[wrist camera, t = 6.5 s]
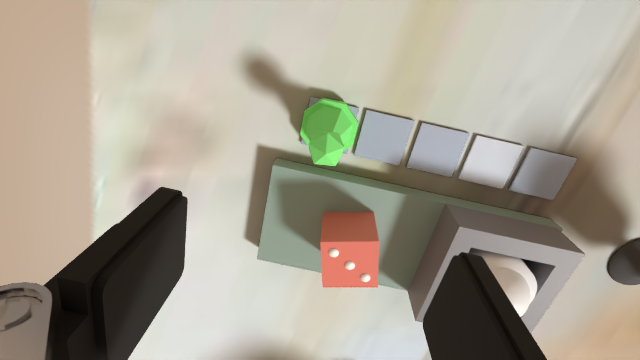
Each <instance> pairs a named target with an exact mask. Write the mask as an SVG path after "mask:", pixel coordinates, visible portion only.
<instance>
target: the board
mask: <svg viewBox="0 0 640 360" xmlns="http://www.w3.org/2000/svg"><path fill="white" fill-rule="evenodd" d="M325 212H374V216H375V222H376V227H377V232H378V238H379V263H378V285H383V286H387V287H392V288H397V289H402V290H406V291H408V294H409V298H410V302H411V306H412V310H413V313H414V317H415V321H419V322H423V318H424V315H425V313H426V311H427V309H428V307H429V305H430V303H431V301H432V299H433V297H434V294H435V292H436V290H437V288H438V286H439V284H440V282H441V280H442V278H443V276H444V274H445V272H446V270H447V267H448V265H449V263H450V261H451V259H452V258H453V256H455V255H457V256H458V255H459V254H460V253H461V252H465V253H469V251H470V249H471V248H476V249H480V250H485V251H490V252H494V253H499V254H503V255H508V256H513V257H517V258H521V260H522V261H523V262H524V263H525V265H526V266H527V267H528V268H529V270H530V271H531V272H532V273H533V275H534V277H535V279H536V281H537V292H536V295H535V297H534V299H533V301H532V302H531V303H530V305H529V307H528V309H527V311H526V312H525V313H524V315H523V316H521V319H522V321H523V322H524V324H525V325H526V327H527V329H528V330H529V332H530V333H531V332H532V331H533V329H534V328H535V327H536V325H537V324H538V322H539V321H540V319H541V318H542V316H543V315H544V314H545V312H546V311H547V309H548V308H549V306H550V305H551V303H552V302H553V301H554V299H555V298H556V296H557V295H558V293H559V292H560V290H561V289H562V287H563V286H564V285H565V283H566V282H567V280H568V279H569V277H570V276H571V274H572V273H573V272H574V270H575V269H576V267H577V266H578V264H579V263H580V261H581V260H582V259H583V257H584V256H585V253H584V252H582V251H581V250H580V249H579V248H578V247H577V246H576V245H575V244H574V243H573V242H572V241H570V240H569V239H568V238H567V237H566V236H565V235H564V234H563V233H562V232H561V231H562V230H563V229H562V228H561V227H560V226H559V225H557V224H556V223H555V222H554V221H553V220H552V219H548V218H544V217H539V216H535V215H530V214H526V213H521V212H517V211H512V210H508V209H503V208H499V207H494V206H490V205H485V204H481V203H476V202H472V201H467V200H463V199H458V198H454V197H449V196H445V195H440V194H436V193H431V192H427V191H422V190H418V189H413V188H409V187H404V186H400V185H395V184H391V183H386V182H382V181H377V180H373V179H368V178H364V177H359V176H355V175H350V174H346V173H341V172H337V171H332V170H328V169H323V168H319V167H314V166H310V165H305V164H301V163H296V162H292V161H288V160H283V159H279V158H276V160H275V162H274V164H273V167H272V173H271V178H270V184H269V190H268V196H267V202H266V208H265V214H264V220H263V226H262V232H261V238H260V244H259V250H258V256H257V259H259V260H264V261H268V262H273V263H278V264H283V265H287V266H292V267H297V268H302V269H306V270H311V271H316V272H321V273H322V265H321V247H320V239H321V228H322V218H323V213H325Z"/></svg>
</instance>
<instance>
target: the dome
mask: <svg viewBox="0 0 640 360" xmlns="http://www.w3.org/2000/svg"><path fill="white" fill-rule="evenodd" d="M469 253H470V254H474V255H479V256H482V257H483V259H484V260H485V262H486V263H487V265H488V267H489V268H490V270H491V271H492V273H493V274H494V276H495V278H496V279H497V281H498V282H499V284H500V286H501V287H502V289H503V290H504V292H505V294H506V295H507V297H508V298H509V300H510V302H511V303H512V305H513V306H514V308H515V309H516V311H517V313H518V314H519V316H520V317H521V316H523V315H524V313H525V312H526V311H527V309H528V307H529V305H530V303H531V302H532V301H533V299H534V297H535V295H536V292H537V281H536V279H535V277H534V275H533V273H532V272H531V271H530V270H529V268H528V267H527V266H526V265H525V263H524V262H523V261H522V260H521V258H517V257H513V256H508V255H503V254H499V253H494V252H490V251H485V250H480V249H476V248H471V249H470V251H469Z"/></svg>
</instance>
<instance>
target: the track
mask: <svg viewBox="0 0 640 360" xmlns="http://www.w3.org/2000/svg"><path fill="white" fill-rule="evenodd" d="M319 100H321V99H319V98H314V97H310V102H309V107H311V106H312V105H313V104H315V103H316V102H318V101H319ZM309 107H308V108H309ZM348 107H349V108H350V110H351V111H352V113H353V114H354V116H355V118H356V117H357V113H358V109H359V108H358V107H353V106H349V105H348ZM413 124H414V120H410V119H405V118H401V117H397V116H392V115H388V114H384V113H379V112H375V111H371V110H366V114H365V117H364V121H363V124H362V128H361V132H360V135H359V139H358V142H357V146H356V150H355V153H354V156H359V157H363V158H367V159H372V160H376V161H381V162H385V163H390V164H394V165H400V162H401V159H402V156H403V153H404V150H405V147H406V145H407V142H408V139H409V136H410V133H411V130H412V127H413ZM468 136H469V133H466V132H462V131H457V130H453V129H449V128H444V127H440V126H436V125H431V124H427V123H423V122H422V123H421V126H420V129H419V132H418V135H417V137H416V140H415V143H414V146H413V149H412V151H411V154H410V157H409V160H408V163H407V165H406V167H407V168H412V169H416V170H421V171H425V172H430V173H434V174H439V175H443V176H447V177H451V176H452V174H453V172H454V169H455V167H456V165H457V162H458V160H459V158H460V155H461V153H462V151H463V148H464V146H465V143H466V141H467V139H468ZM301 144H305V145H307V144H306V142H305V141H304V139H303V138H302V141H301ZM523 147H524V146H522V145H518V144H514V143H509V142H505V141H501V140H496V139H492V138H488V137H483V136H479V135H476V137H475V139H474V141H473V144H472V146H471V148H470V151H469V153H468V155H467V158H466V160H465V162H464V165H463V167H462V169H461V171H460V174H459V176H458V179H461V180H465V181H470V182H474V183H479V184H483V185H487V186H492V187H496V188H501V189H503V187H504V185H505V183H506V181H507V179H508V177H509V175H510V173H511V171H512V169H513V167H514V165H515V163H516V161H517V159H518V157H519V155H520V153H521V151H522V149H523ZM347 151H348V148H347V149H346V150H344V151H343V153H345V154H347ZM576 160H577V158H574V157H570V156H565V155H561V154H557V153H553V152H548V151H544V150H540V149H535V148H531V147H530V149H529V151H528V152H527V154H526V156H525V158H524V160H523V162H522V164H521V166H520V168H519V170H518V172H517V174H516V176H515V178H514V180H513V182H512V184H511V186H510V187H509V190H510V191H514V192H519V193H523V194H527V195H532V196H536V197H541V198H545V199H550V200H554V198H555V196H556V194H557V193H558V191H559V189H560V188H561V186H562V184H563V183H564V181H565V179H566V177H567V176H568V174H569V172H570V171H571V169H572V167H573V166H574V164H575V162H576Z"/></svg>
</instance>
